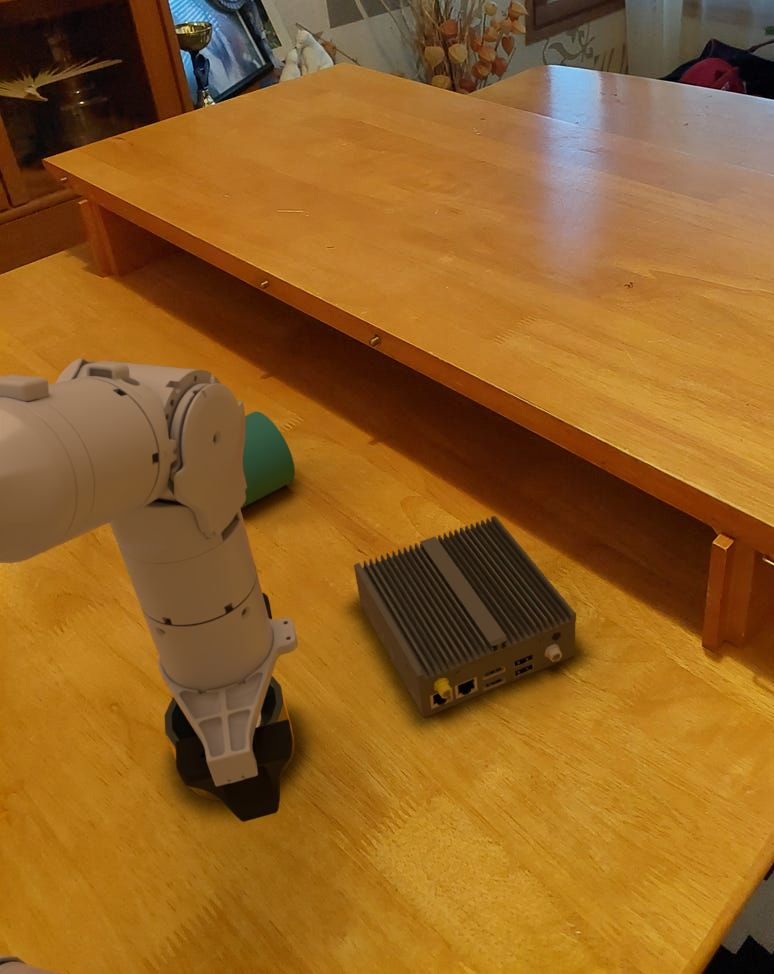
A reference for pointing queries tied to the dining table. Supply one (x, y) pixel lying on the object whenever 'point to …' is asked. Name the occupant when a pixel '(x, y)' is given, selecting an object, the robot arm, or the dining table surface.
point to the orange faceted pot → (182, 729)
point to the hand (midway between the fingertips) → (252, 756)
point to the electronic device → (465, 614)
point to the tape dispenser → (265, 458)
